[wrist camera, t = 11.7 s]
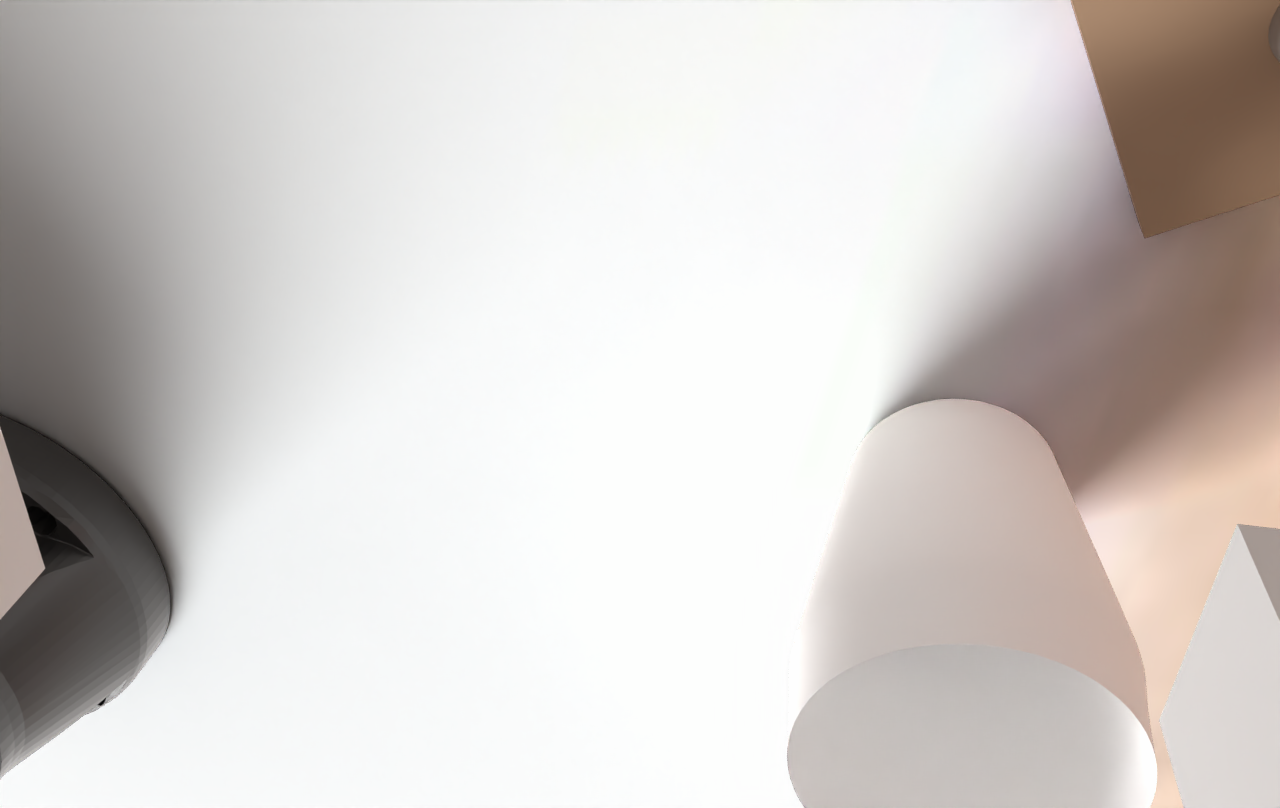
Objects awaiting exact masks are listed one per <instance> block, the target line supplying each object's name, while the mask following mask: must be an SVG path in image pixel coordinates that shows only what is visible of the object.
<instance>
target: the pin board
mask: <svg viewBox="0 0 1280 808" xmlns="http://www.w3.org/2000/svg"><path fill="white" fill-rule="evenodd" d="M1071 4H1072V7H1073V10H1074V13H1075V17H1076V20H1077V23H1078V26H1079V30H1080V33H1081V36H1082V39H1083V43H1084V46H1085V49H1086V53H1087V56H1088V59H1089V62H1090V66H1091V69H1092V72H1093V75H1094V79H1095V82H1096V85H1097V88H1098V92H1099V95H1100V98H1101V102H1102V105H1103V108H1104V111H1105V115H1106V118H1107V121H1108V124H1109V128H1110V131H1111V134H1112V137H1113V141H1114V144H1115V147H1116V151H1117V154H1118V157H1119V160H1120V164H1121V167H1122V170H1123V173H1124V177H1125V180H1126V183H1127V187H1128V190H1129V193H1130V196H1131V200H1132V203H1133V206H1134V209H1135V213H1136V216H1137V219H1138V222H1139V225H1140V228H1141V230H1142V233H1143V236H1144V238H1148V237H1151V236H1154V235H1157V234H1160V233H1163V232H1166V231H1170V230H1173V229H1176V228H1179V227H1182V226H1185V225H1188V224H1191V223H1194V222H1197V221H1200V220H1204V219H1207V218H1210V217H1213V216H1216V215H1219V214H1222V213H1225V212H1228V211H1231V210H1235V209H1238V208H1241V207H1244V206H1247V205H1250V204H1253V203H1256V202H1259V201H1262V200H1265V199H1269V198H1272V197H1275V196H1278V195H1280V0H1071Z"/></svg>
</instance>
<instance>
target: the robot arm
mask: <svg viewBox="0 0 1280 808" xmlns="http://www.w3.org/2000/svg"><path fill="white" fill-rule="evenodd" d="M169 616H170V593H169V587H168V582H167V578H166V574H165V571H164V568H163V565H162V562H161V560H160V558H159V555H158V553H157V551H156V549H155V547H154V545H153V543H152V541H151V539H150V538H149V536H148V534H147V533H146V531H145V529H144V528H143V526H142V525H141V524H140V522H139V521H138V519H137V518H136V516H135V515H134V514H133V513H132V511H131V510H130V509H129V507H128V506H127V505H126V504H125V503H124V502H123V500H122V499H121V498H120V497H119V496H118V495H117V494H116V493H115V492H114V491H113V490H112V489H111V488H110V487H109V485H108V484H106V483H105V482H104V481H103V480H102V479H101V478H100V477H99V476H98V475H97V474H96V473H94V472H93V471H92V470H91V469H90V468H89V467H87V466H86V465H85V464H84V463H82V462H81V461H80V460H78V459H77V458H76V457H75V456H73V455H72V454H70V453H69V452H68V451H66V450H65V449H63V448H62V447H60V446H59V445H57V444H56V443H54V442H52V441H51V440H49V439H48V438H46V437H44V436H42V435H41V434H39V433H37V432H35V431H34V430H32V429H30V428H28V427H26V426H24V425H22V424H20V423H17V422H15V421H13V420H11V419H8V418H6V417H3V416H1V415H0V779H1V778H2V777H3V776H4V775H5V774H6V773H7V772H8V771H9V770H11V769H12V768H13V767H15V766H16V765H18V764H19V763H20V762H22V761H23V760H25V759H26V758H27V757H29V756H30V755H31V754H33V753H34V752H36V751H37V750H38V749H40V748H41V747H42V746H44V745H45V744H46V743H48V742H49V741H51V740H52V739H53V738H55V737H56V736H57V735H59V734H60V733H62V732H63V731H64V730H65V729H67V728H68V727H69V726H71V725H72V724H73V723H75V722H76V721H77V720H79V719H80V718H81V717H82V716H84V715H86V714H89V713H91V712H93V711H96V710H97V709H99V708H100V707H102V706H104V705H105V704H107V703H109V702H110V701H112V700H113V699H114V698H116V697H117V696H118V695H119V694H120V693H122V692H123V691H124V690H125V689H126V688H127V687H128V686H129V685H130V684H131V682H132V681H133V680H134V679H135V677H136V676H137V675H138V673H139V672H140V671H141V669H142V668H143V667H144V665H145V664H146V663H147V661H148V660H149V659H150V657H151V656H152V655H153V653H154V652H155V651H156V649H157V648H158V646H159V645H160V643H161V641H162V639H163V637H164V635H165V633H166V630H167V627H168V622H169ZM1159 722H1160V725H1161V729H1162V732H1163V736H1164V740H1165V743H1166V747H1167V750H1168V754H1169V757H1170V761H1171V764H1172V768H1173V771H1174V775H1175V778H1176V782H1177V786H1178V789H1179V793H1180V796H1181V800H1182V803H1183V807H1184V808H1280V529H1276V528H1267V527H1259V526H1250V525H1242V524H1237V526H1236V528H1235V531H1234V533H1233V536H1232V538H1231V541H1230V543H1229V546H1228V548H1227V551H1226V553H1225V556H1224V559H1223V561H1222V564H1221V566H1220V569H1219V571H1218V574H1217V576H1216V579H1215V581H1214V584H1213V586H1212V589H1211V591H1210V594H1209V596H1208V599H1207V601H1206V604H1205V606H1204V609H1203V611H1202V614H1201V616H1200V619H1199V621H1198V624H1197V626H1196V629H1195V631H1194V634H1193V636H1192V639H1191V641H1190V644H1189V647H1188V649H1187V652H1186V654H1185V657H1184V659H1183V662H1182V664H1181V667H1180V669H1179V672H1178V674H1177V677H1176V679H1175V682H1174V684H1173V687H1172V689H1171V692H1170V694H1169V697H1168V699H1167V702H1166V704H1165V707H1164V709H1163V712H1162V714H1161V717H1160V719H1159Z"/></svg>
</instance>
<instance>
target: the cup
mask: <svg viewBox="0 0 1280 808" xmlns="http://www.w3.org/2000/svg"><path fill="white" fill-rule="evenodd" d="M787 761H788V770H789V774H790V779H791V781H792V784H793V787H794V790H795V792H796V794H797V796H798V798H799V800H800V801H801V803H802V804H803V806H804V807H805V808H1150V806H1151V804H1152V801H1153V798H1154V795H1155V790H1156V784H1157V765H1156V758H1155V752H1154V745H1153V739H1152V733H1151V726H1150V719H1149V712H1148V702H1147V689H1146V678H1145V671H1144V666H1143V662H1142V659H1141V655H1140V652H1139V649H1138V646H1137V643H1136V640H1135V638H1134V636H1133V634H1132V631H1131V629H1130V627H1129V624H1128V622H1127V620H1126V617H1125V615H1124V613H1123V611H1122V608H1121V606H1120V604H1119V601H1118V599H1117V597H1116V595H1115V592H1114V590H1113V588H1112V586H1111V583H1110V581H1109V579H1108V577H1107V574H1106V572H1105V570H1104V568H1103V565H1102V563H1101V561H1100V558H1099V556H1098V554H1097V552H1096V549H1095V547H1094V545H1093V543H1092V540H1091V538H1090V536H1089V534H1088V531H1087V529H1086V527H1085V525H1084V522H1083V520H1082V518H1081V516H1080V513H1079V511H1078V509H1077V507H1076V504H1075V502H1074V500H1073V498H1072V495H1071V493H1070V491H1069V489H1068V486H1067V484H1066V482H1065V480H1064V477H1063V475H1062V473H1061V471H1060V468H1059V466H1058V464H1057V462H1056V459H1055V457H1054V455H1053V453H1052V450H1051V449H1050V447H1049V445H1048V444H1047V442H1046V441H1045V439H1044V438H1043V437H1042V435H1041V434H1040V433H1039V432H1038V431H1037V430H1036V429H1035V428H1034V427H1033V426H1031V425H1030V424H1029V423H1028V422H1026V421H1025V420H1024V419H1022V418H1021V417H1019V416H1017V415H1016V414H1014V413H1012V412H1010V411H1008V410H1006V409H1003V408H1001V407H998V406H995V405H993V404H989V403H985V402H981V401H975V400H968V399H939V400H932V401H926V402H922V403H918V404H915V405H912V406H909V407H906V408H904V409H902V410H899V411H897V412H895V413H893V414H892V415H890V416H888V417H887V418H885V419H884V420H882V421H881V422H880V423H878V424H877V425H876V426H875V427H874V428H872V429H871V430H870V431H869V432H868V434H867V435H866V436H865V437H864V438H863V440H862V441H861V443H860V444H859V446H858V447H857V449H856V451H855V453H854V455H853V458H852V461H851V464H850V467H849V470H848V473H847V476H846V479H845V482H844V486H843V489H842V492H841V495H840V498H839V501H838V504H837V507H836V510H835V514H834V517H833V520H832V523H831V526H830V529H829V532H828V535H827V538H826V542H825V545H824V548H823V551H822V554H821V557H820V560H819V563H818V566H817V570H816V573H815V576H814V579H813V582H812V585H811V588H810V591H809V594H808V598H807V601H806V604H805V607H804V610H803V613H802V617H801V620H800V623H799V626H798V629H797V632H796V636H795V640H794V644H793V649H792V654H791V658H790V666H789V726H788V747H787Z"/></svg>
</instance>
